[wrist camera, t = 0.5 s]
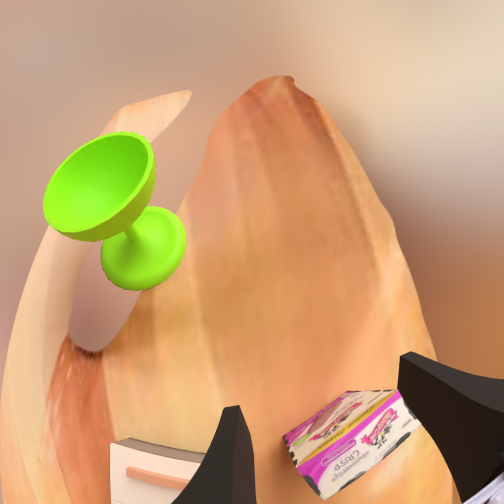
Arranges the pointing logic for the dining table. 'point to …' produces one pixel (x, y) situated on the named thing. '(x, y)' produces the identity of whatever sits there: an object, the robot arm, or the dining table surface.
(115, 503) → the lid
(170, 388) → the dining table surface
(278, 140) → the dining table surface
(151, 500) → the lid
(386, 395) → the candy bar box
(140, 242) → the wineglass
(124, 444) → the box
